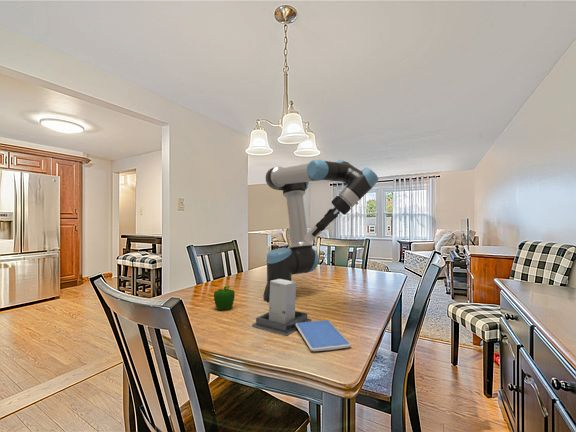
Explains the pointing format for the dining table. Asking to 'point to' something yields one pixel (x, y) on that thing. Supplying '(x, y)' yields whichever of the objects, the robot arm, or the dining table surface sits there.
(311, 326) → the tablet computer
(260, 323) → the square metal tray
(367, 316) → the dining table surface
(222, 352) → the dining table surface
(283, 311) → the skincare box
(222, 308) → the bell pepper
